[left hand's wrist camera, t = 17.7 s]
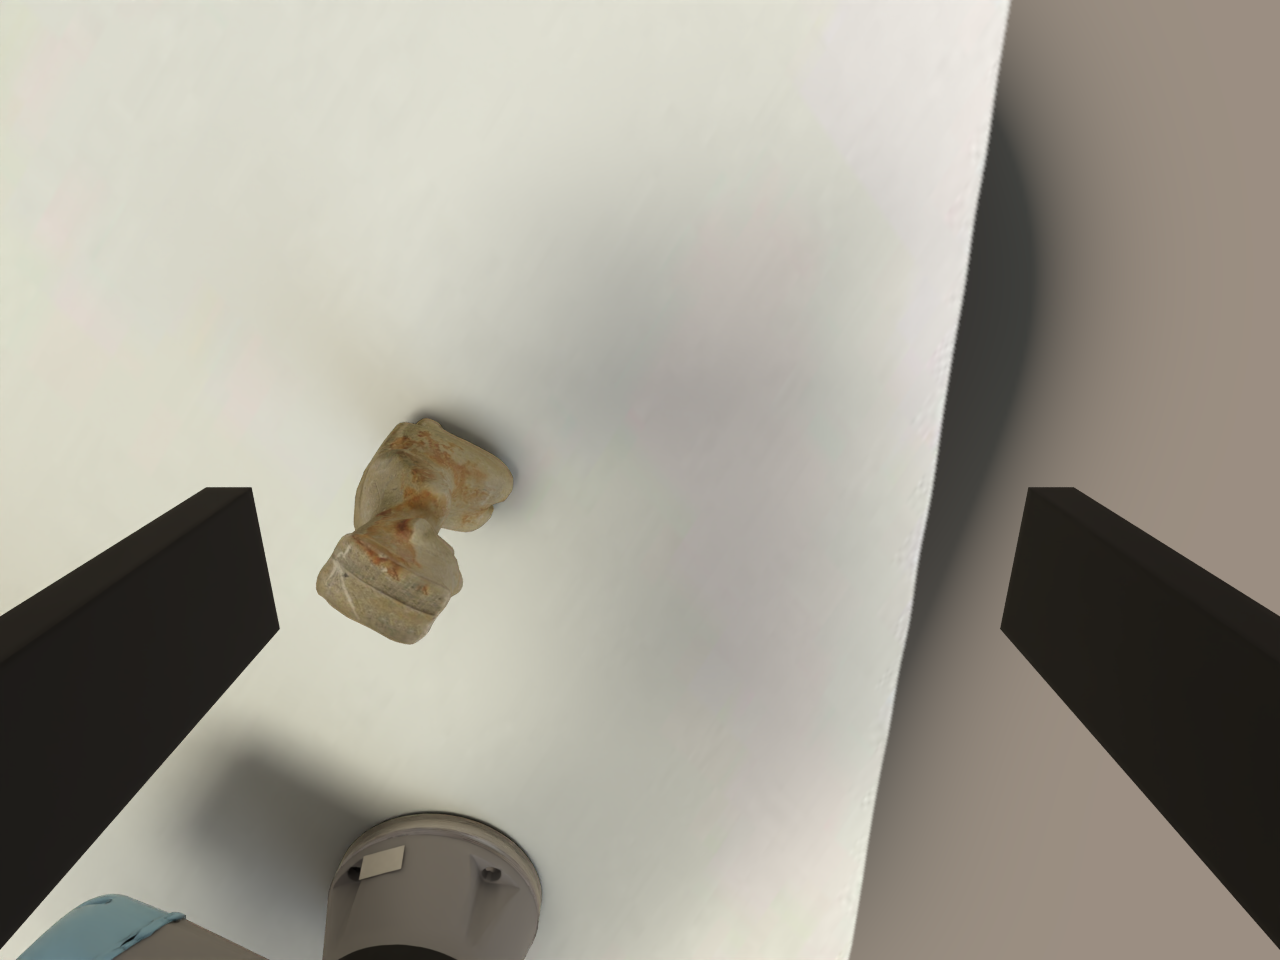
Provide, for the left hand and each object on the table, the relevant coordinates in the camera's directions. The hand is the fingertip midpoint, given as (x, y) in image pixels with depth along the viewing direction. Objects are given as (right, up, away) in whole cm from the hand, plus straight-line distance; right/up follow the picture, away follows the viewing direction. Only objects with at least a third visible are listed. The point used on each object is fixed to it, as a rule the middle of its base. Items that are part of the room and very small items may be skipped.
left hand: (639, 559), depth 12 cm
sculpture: (-11, +2, +30) cm, 32 cm away
